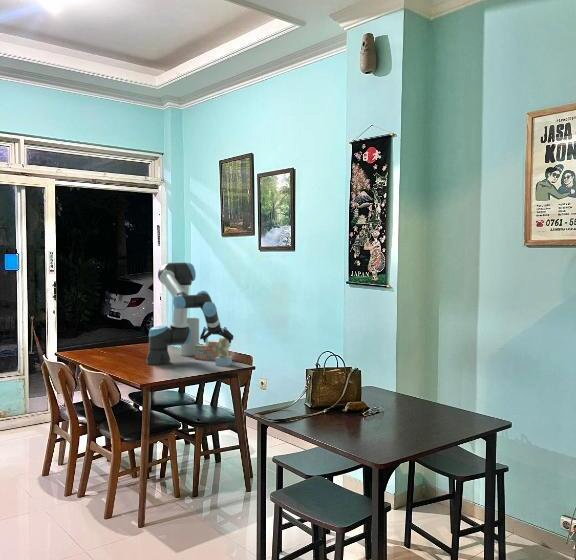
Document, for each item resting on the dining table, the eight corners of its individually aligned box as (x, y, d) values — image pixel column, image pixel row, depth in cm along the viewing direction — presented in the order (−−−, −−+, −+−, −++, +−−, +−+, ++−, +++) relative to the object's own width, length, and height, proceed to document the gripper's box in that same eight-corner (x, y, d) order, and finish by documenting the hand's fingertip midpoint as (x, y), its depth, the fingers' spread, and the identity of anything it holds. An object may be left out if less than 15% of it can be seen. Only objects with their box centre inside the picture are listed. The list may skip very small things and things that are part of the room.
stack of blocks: (194, 359, 383) (194, 340, 383) (198, 357, 389) (198, 339, 389) (224, 361, 378) (225, 342, 377) (228, 359, 384) (228, 341, 384)
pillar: (218, 357, 362) (219, 338, 362) (220, 356, 367) (221, 337, 367) (226, 357, 361) (226, 338, 361) (228, 356, 366) (228, 337, 366)
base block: (215, 365, 362) (215, 357, 361) (219, 363, 369) (219, 355, 369) (227, 366, 360) (227, 358, 360) (231, 364, 368) (231, 356, 367)
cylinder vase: (199, 355, 396) (199, 319, 395) (181, 356, 393) (181, 320, 392) (198, 353, 408) (198, 317, 407) (180, 353, 405) (180, 318, 404)
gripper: (191, 328, 337) (197, 349, 352) (233, 328, 334) (238, 350, 350) (193, 318, 342) (199, 340, 357) (235, 318, 339) (239, 340, 355)
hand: (218, 345), depth 353 cm, fingers open, 13 cm apart
